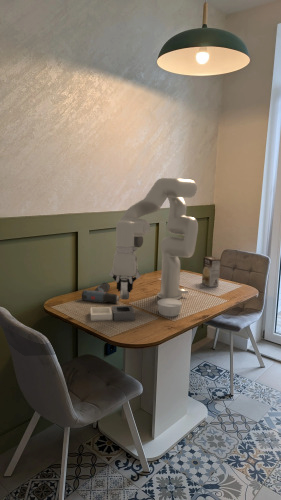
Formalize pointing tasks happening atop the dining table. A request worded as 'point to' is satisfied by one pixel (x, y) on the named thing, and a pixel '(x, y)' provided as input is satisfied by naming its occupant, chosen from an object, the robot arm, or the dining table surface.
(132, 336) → the dining table surface
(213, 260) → the coffee box
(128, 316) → the block
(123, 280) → the shiny metal canister
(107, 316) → the tray
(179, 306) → the ramekin
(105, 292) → the power drill
